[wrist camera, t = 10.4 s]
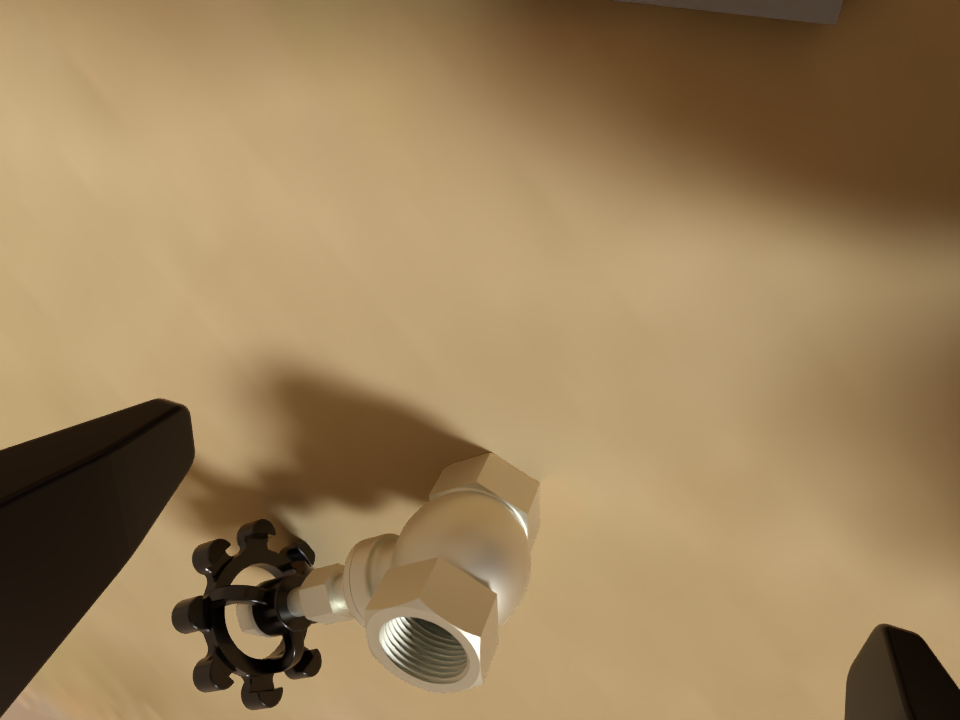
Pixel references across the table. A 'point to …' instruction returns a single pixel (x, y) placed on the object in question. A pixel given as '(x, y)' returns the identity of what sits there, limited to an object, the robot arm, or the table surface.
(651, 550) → the table surface
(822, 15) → the board
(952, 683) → the robot arm
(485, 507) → the valve
